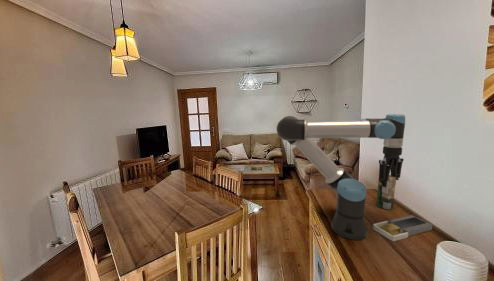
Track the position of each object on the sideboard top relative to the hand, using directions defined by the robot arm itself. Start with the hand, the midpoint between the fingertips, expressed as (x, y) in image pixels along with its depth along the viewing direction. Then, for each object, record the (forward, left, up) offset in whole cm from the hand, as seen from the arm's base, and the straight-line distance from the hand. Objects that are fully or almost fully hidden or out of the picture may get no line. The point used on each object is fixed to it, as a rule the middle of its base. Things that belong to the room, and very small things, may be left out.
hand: (388, 192), depth 101 cm
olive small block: (-6, -9, -15) cm, 19 cm away
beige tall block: (0, 0, -5) cm, 5 cm away
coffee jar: (+13, +11, -15) cm, 23 cm away
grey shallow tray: (+4, -9, -15) cm, 18 cm away
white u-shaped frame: (-9, -9, -15) cm, 20 cm away
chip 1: (-10, -9, -15) cm, 20 cm away
